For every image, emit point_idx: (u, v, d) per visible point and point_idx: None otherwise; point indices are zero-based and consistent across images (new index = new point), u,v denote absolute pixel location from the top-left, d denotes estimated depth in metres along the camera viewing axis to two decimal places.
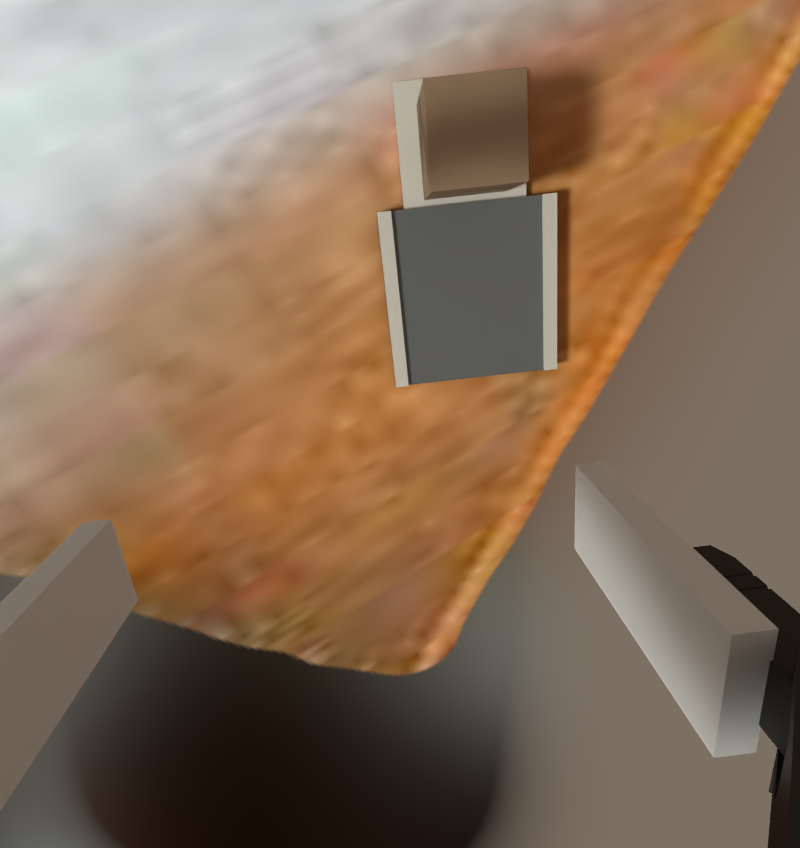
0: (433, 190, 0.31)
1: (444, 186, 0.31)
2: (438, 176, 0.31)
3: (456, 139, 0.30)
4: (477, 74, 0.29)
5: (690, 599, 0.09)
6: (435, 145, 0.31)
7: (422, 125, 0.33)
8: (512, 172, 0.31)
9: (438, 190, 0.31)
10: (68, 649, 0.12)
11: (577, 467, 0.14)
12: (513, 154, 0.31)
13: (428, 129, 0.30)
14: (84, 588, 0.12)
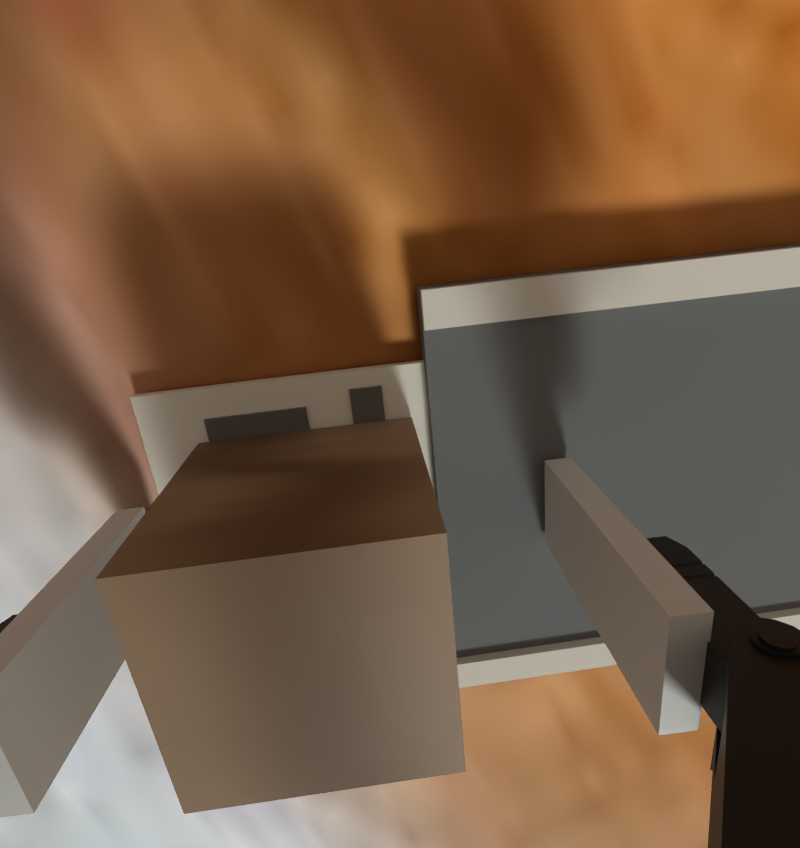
0: (462, 769, 0.11)
1: (453, 747, 0.11)
2: (425, 760, 0.11)
3: (327, 733, 0.10)
4: (148, 702, 0.10)
5: (637, 585, 0.10)
6: (346, 774, 0.11)
7: None
8: (417, 585, 0.09)
9: (462, 756, 0.11)
10: (109, 629, 0.12)
11: (545, 462, 0.15)
12: (364, 587, 0.09)
13: (308, 792, 0.11)
14: None
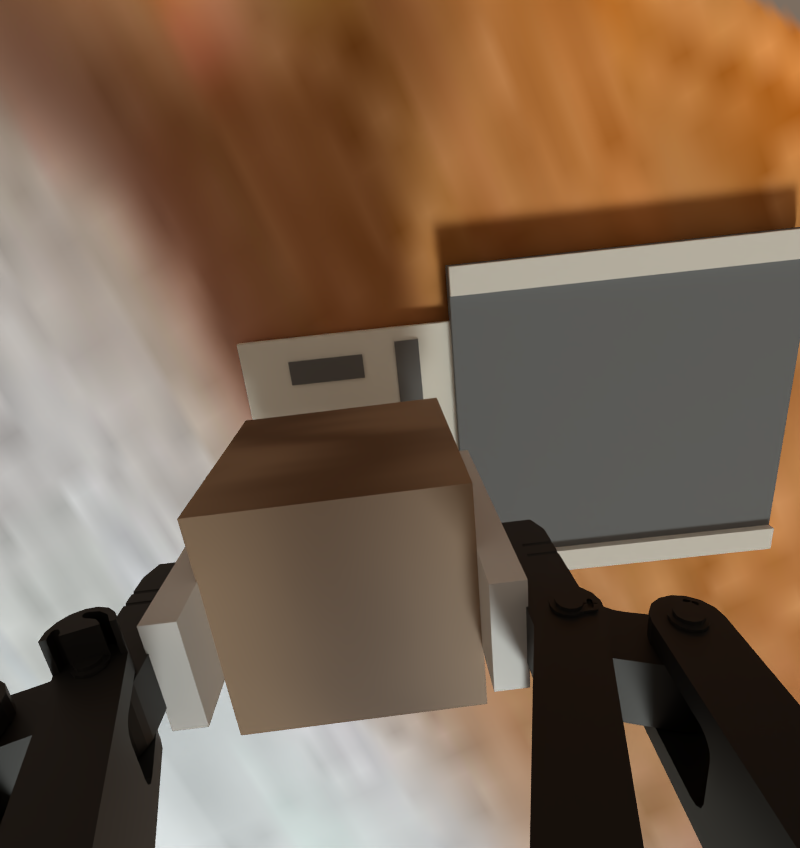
0: (484, 701, 0.12)
1: (476, 680, 0.12)
2: (451, 692, 0.12)
3: (367, 663, 0.12)
4: (215, 631, 0.11)
5: (478, 559, 0.11)
6: (382, 703, 0.12)
7: None
8: (447, 529, 0.11)
9: (484, 689, 0.12)
10: None
11: None
12: (401, 531, 0.11)
13: (349, 719, 0.12)
14: None
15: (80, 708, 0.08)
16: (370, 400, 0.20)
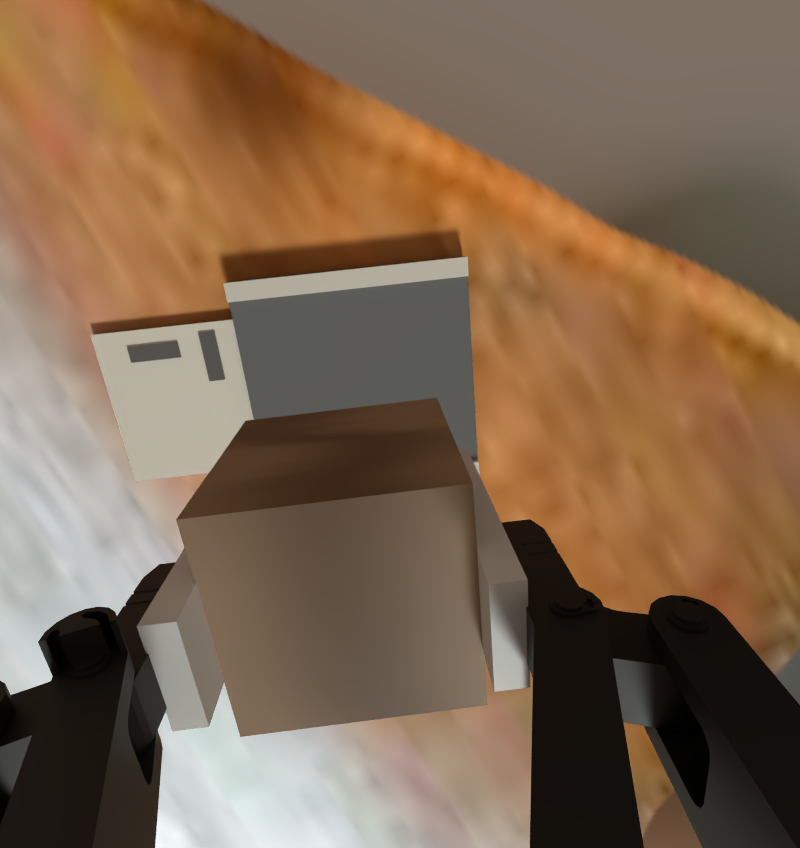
0: (484, 703, 0.12)
1: (476, 681, 0.12)
2: (451, 694, 0.12)
3: (367, 664, 0.12)
4: (214, 632, 0.11)
5: (478, 559, 0.11)
6: (382, 704, 0.12)
7: None
8: (447, 529, 0.11)
9: (484, 691, 0.12)
10: None
11: None
12: (401, 531, 0.11)
13: (348, 720, 0.12)
14: None
15: (80, 708, 0.08)
16: (187, 372, 0.29)
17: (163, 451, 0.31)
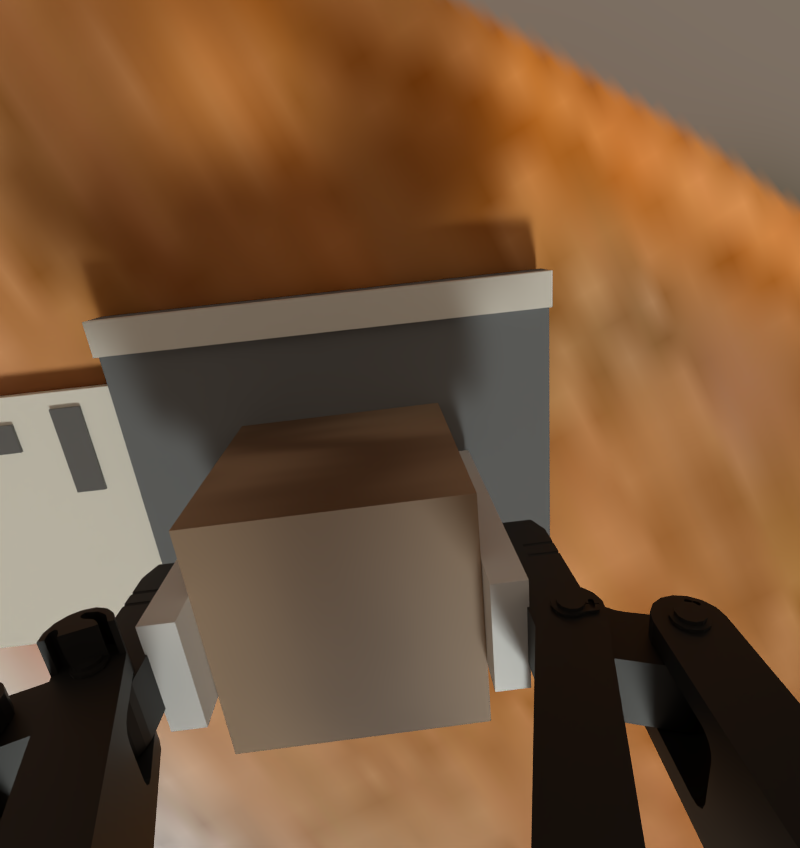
0: (487, 719, 0.12)
1: (480, 697, 0.12)
2: (454, 709, 0.12)
3: (367, 679, 0.11)
4: (208, 647, 0.11)
5: None
6: (382, 720, 0.12)
7: None
8: (450, 541, 0.10)
9: (487, 706, 0.12)
10: None
11: None
12: (402, 543, 0.10)
13: (347, 736, 0.12)
14: None
15: (79, 708, 0.08)
16: (37, 478, 0.16)
17: (8, 605, 0.18)
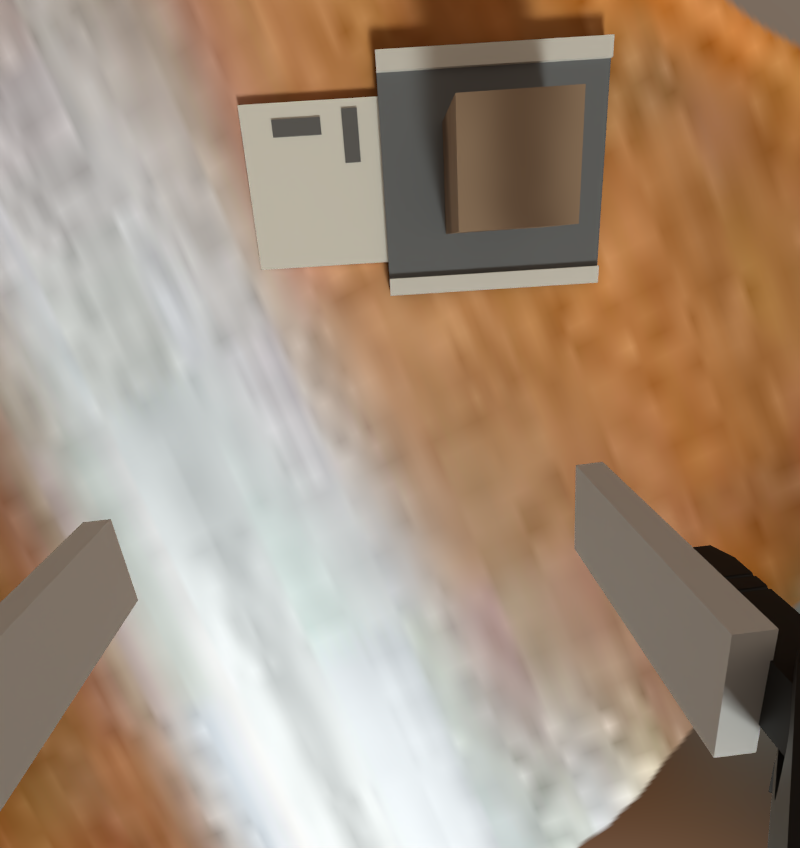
0: (577, 221, 0.25)
1: (575, 207, 0.25)
2: (562, 214, 0.25)
3: (525, 190, 0.25)
4: (459, 162, 0.24)
5: (690, 599, 0.09)
6: (528, 218, 0.25)
7: (486, 230, 0.28)
8: (571, 109, 0.24)
9: (578, 214, 0.25)
10: (68, 649, 0.12)
11: (577, 467, 0.14)
12: (551, 109, 0.24)
13: (511, 226, 0.25)
14: (84, 588, 0.12)
15: None
16: (325, 152, 0.30)
17: (292, 238, 0.31)
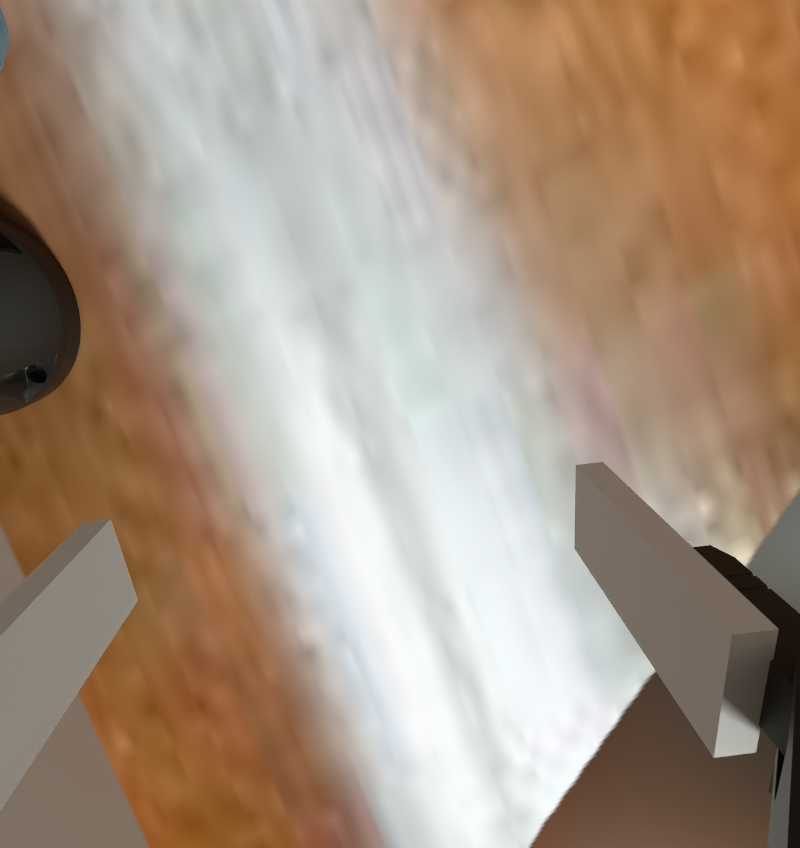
0: None
1: None
2: None
3: None
4: None
5: (690, 599, 0.09)
6: None
7: None
8: None
9: None
10: (68, 649, 0.12)
11: (577, 467, 0.14)
12: None
13: None
14: (84, 588, 0.12)
15: None
16: None
17: None
